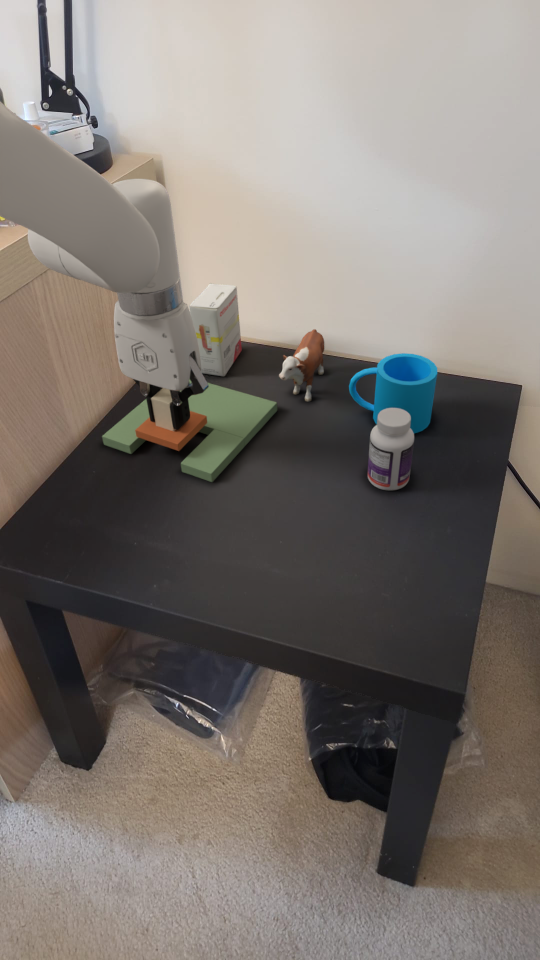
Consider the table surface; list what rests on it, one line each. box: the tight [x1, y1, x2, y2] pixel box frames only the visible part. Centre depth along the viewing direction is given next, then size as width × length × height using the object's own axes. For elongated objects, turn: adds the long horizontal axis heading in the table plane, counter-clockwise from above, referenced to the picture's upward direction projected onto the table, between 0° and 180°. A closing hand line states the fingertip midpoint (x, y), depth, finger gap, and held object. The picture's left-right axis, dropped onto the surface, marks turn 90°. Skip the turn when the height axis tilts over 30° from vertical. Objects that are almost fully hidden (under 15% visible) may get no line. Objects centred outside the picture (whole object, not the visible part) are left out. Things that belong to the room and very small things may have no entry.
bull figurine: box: [278, 328, 326, 402], centre depth 102 cm, size 4×13×8 cm, turn 158°
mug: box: [348, 352, 438, 435], centre depth 96 cm, size 12×8×8 cm
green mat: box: [101, 379, 278, 483], centre depth 98 cm, size 18×18×2 cm
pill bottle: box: [367, 408, 415, 491], centre depth 85 cm, size 5×5×10 cm
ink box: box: [188, 282, 243, 377], centre depth 108 cm, size 9×5×12 cm, turn 161°
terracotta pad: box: [135, 388, 207, 452], centre depth 92 cm, size 7×7×6 cm
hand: (170, 419), depth 92 cm, fingers closed on terracotta pad, 3 cm apart
